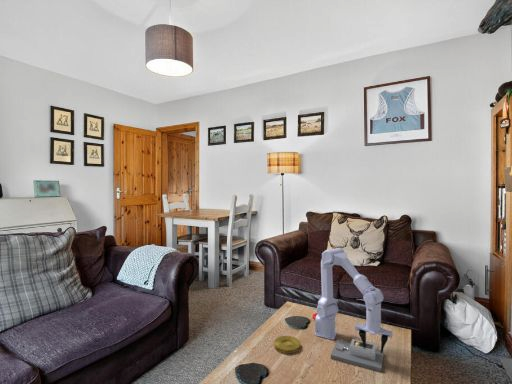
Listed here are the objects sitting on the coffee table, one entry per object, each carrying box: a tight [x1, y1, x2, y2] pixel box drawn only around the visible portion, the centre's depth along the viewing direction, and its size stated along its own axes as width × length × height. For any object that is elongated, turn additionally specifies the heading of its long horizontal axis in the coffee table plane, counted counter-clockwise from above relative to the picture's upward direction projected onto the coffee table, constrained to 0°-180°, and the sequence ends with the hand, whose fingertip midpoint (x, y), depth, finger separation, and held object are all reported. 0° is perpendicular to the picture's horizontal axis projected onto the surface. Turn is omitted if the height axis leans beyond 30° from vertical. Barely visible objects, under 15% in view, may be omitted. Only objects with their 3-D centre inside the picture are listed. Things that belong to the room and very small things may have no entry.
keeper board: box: [330, 338, 385, 373], centre depth 125 cm, size 20×14×6 cm
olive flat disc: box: [273, 335, 301, 355], centre depth 133 cm, size 12×12×2 cm
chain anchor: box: [336, 343, 348, 351], centre depth 128 cm, size 5×4×1 cm
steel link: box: [350, 338, 377, 361], centre depth 124 cm, size 10×6×4 cm, turn 62°
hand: (373, 349), depth 122 cm, fingers open, 6 cm apart
